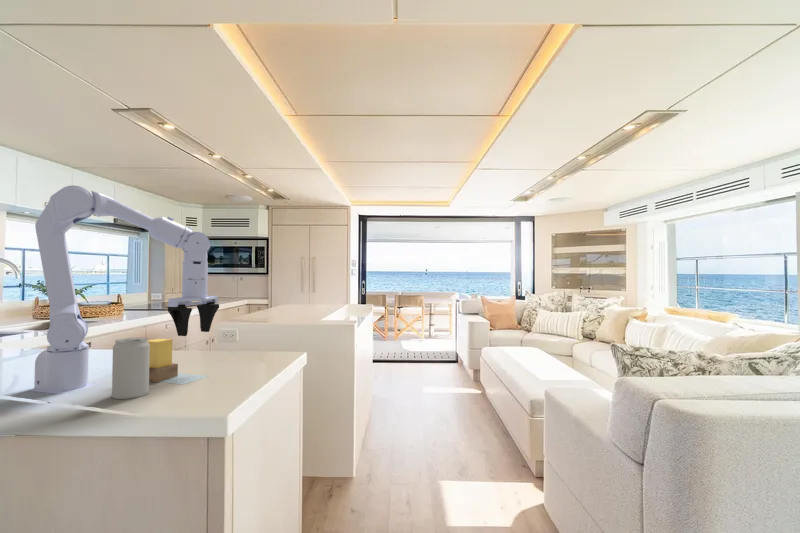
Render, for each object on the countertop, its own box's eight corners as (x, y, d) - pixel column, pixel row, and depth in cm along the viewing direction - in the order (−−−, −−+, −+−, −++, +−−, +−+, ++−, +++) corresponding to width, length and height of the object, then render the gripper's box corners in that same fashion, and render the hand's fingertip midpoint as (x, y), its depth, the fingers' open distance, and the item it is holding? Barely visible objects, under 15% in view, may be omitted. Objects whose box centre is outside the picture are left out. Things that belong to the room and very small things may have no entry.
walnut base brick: (136, 380, 96) (136, 367, 96) (157, 374, 102) (158, 362, 102) (156, 382, 94) (157, 369, 94) (177, 376, 100) (177, 363, 100)
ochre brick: (144, 366, 97) (144, 341, 97) (158, 363, 101) (159, 338, 101) (157, 368, 96) (158, 342, 96) (171, 364, 99) (172, 339, 100)
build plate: (141, 382, 96) (141, 380, 96) (169, 374, 104) (169, 372, 104) (183, 386, 93) (183, 384, 93) (209, 378, 101) (209, 375, 101)
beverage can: (121, 404, 80) (122, 342, 81) (105, 398, 84) (106, 339, 84) (154, 396, 86) (156, 338, 86) (139, 391, 89) (140, 335, 89)
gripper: (185, 280, 96) (184, 338, 96) (227, 279, 110) (227, 330, 110) (161, 279, 98) (160, 337, 98) (206, 279, 112) (205, 329, 112)
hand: (194, 333), depth 104 cm, fingers open, 7 cm apart
